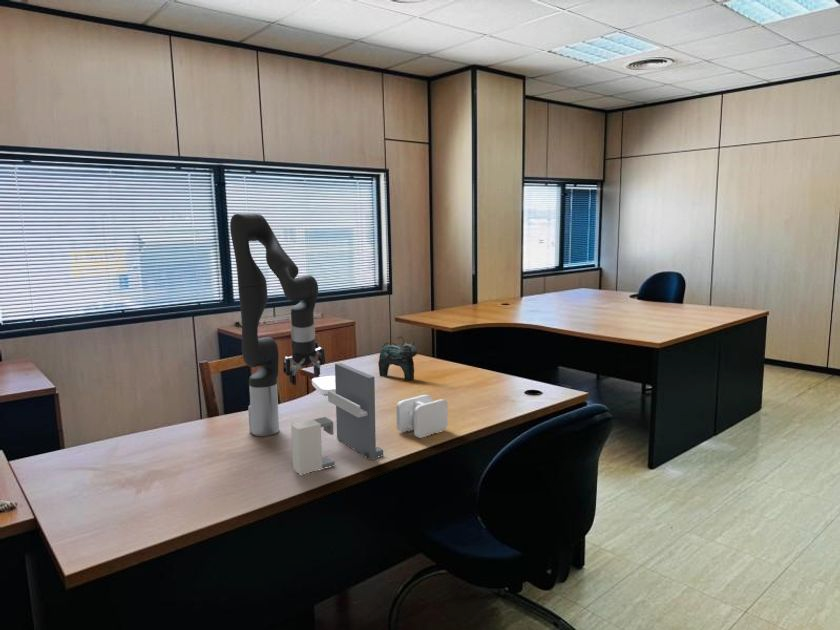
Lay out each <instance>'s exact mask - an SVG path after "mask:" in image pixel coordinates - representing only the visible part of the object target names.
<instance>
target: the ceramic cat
mask: <svg viewBox="0 0 840 630" xmlns="http://www.w3.org/2000/svg"><path fill="white" fill-rule="evenodd" d="M399 338H401V339H402V341H403V342H402V345H400V344H397V343H394V342H385V343H384V344H383V346H382V349H381V351H380V353H379V356H378V357H379V359H378V372H379V376H380V377H383V378H385V377H388V376H389V375H388V374H389V368H390V366H392V365H394V366H397V367H399V368H401V369H402V372H403V375H404V377H403V380H404V381H410V382H411V381H413V380H414V379H415V364H414V357H416V356H417V354H418V348H417V346H416V343H415V342H414V341H412V342H411V343H407V342H406V341H405V340H404V337H403V336H398V337H397V338H396V339H397V340H399ZM387 344H393V345H387Z"/></svg>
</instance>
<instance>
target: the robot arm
mask: <svg viewBox="0 0 840 630" xmlns="http://www.w3.org/2000/svg"><path fill="white" fill-rule="evenodd" d="M229 223H230V224H229V228H230V236H231V242H232V247H233V253H234V259H235V265H236V273H237V275H236V276H237V287H238V298H239V299H238V300H239V306H240V307H239V308H240V316H241V353H242V354H241V355H242V358H243V359H242V360H243V361H244V363H245V364H246V366H247V367H250V368H255V367H259V368H258V369H257V370H256V371H255V372H254V373H253V374H251V375H250V376H249V378H248V386H249V400H250V401H249V405H248V407H247V408H248V409H247V410H248V411H247V412H248V428H249V429H248V431H249V433H250V434H252V435H253V436H257V437H269V436H272V435H275V434H277V433H279V431H280V424H279V422H280V420H279V418H280V417H279V401H278V400H279V399H278V395H279V393H278V377H279V354H280V353H279V346H278V343H277V342H276V340H275V339H274V338H273V337H271V336H265V337H260V338H259V335H258V334H259V333H258V330H259V329H258V328H259V323H260V320H261V318H262V315H263V313H264V311H265V310H266V307H267V303H268V296H269V295H268V285H267V279H266V276H265V275H264V273H263V272H262V269H261V268H260V267H259V265H257V263H256V261H255V260H254V257H253V256H252V253H251V249H250V242H259V243H260V244H261V245H263V247H264V248H265V261H266V264H267V265H268V267H269V269H270V271H271V272H273V274H274V275H275V277H277V279H278V282H279V283H280V285H281V289H282V292H283V293H284V296H285V298H286V299H288V300H289V301H290V302H299V303H297V304H295V305H294V306H292V307H291V309H290V321H291V322H290V323H291V327H290V328H291V329H290V335H291V336H290V337H291V338H290V339H291V351H292V353H291V355H289V356H286V355H285V356H283V358H282V360H283V361H282V363H283V364H282V365H283V366H282V367H283V368H282V371H283V374H285V375H286V376H287V377H289V383H290V384H292V385H293V386H296V385H297V377H296V376H297V375H296V374H297V372H298V371H299V370H301V367H305V366H307V365H311V363H312V364H313V375H314V378H318V377H320V375H321V366H322V365H325V364H326V356H325V349H324V348H323V347H321V346H317V347H316V329H315V320H314V319H315V317H314V316H315V315H314V311H315V307H316V304H317V303H316V302H317V298H318V295H319V284H318V281H317V280H316V278H315V277H314V276H312V275H310V274H309V275H303V276H299V277H298V275H299V268H298V266H297V265H296V263H295V261H293V260H292V259H291V257H290V256H289V255H288V254H287V252H286V251H285V250H284V249H283V247H282V245H281V244H280V242H279V240H278V239H277V236H276V235H275V233H274V231H273V229H272V227H271V226H270V225H269V223H268V221H267V220H266V218H265V216H263V215H262V214H260V213H253V212H251V213H250V212H249V213H246V212H238V213H233V215H232V216H231V219H230V222H229ZM316 355H317V357H318V358H317V360H316V358H315V357H316Z"/></svg>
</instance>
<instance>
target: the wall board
mask: <svg viewBox="0 0 840 630" xmlns="http://www.w3.org/2000/svg"><path fill="white" fill-rule="evenodd" d="M334 375H335V385H336V393H334V392H332V391H328V395H327V399H328V400H327V402H328V403H330V404H333V405H334V406H335V409H336V410H335V413H336V414H335V415H336V418H335V419H336V439H337V438H338V439H339V440H338V439H337V440H338V441H340V440H341V441H342V442H341V441H340V442H341V443H343V442H344V443H346V444H347V445H349V446H350V447H349V446H348V447H349V448H351V447H352V448H354V449H355V450H357V451H358V452H360V453H361V454H363V455H364V456H363V455H362V456H363V457H365V456H366V457H367V458H366V457H365V458H366V459H368V458H369V459H373V458H376V457H377V458H379V457H378V456H381V455H383V456H384V449H383V448H381V447H379V446H377V447H376V445H377V443H376V442H377V441H376V435H377V434H376V392H375V391H376V385H375V382H376V379H375V376H373V375H371V374H370V373H367V372H364V371H361V370H358V369H357V368H355V367H352V366H350V365H346V364H344V363H341V362H338V363H334ZM344 443H343V444H344ZM346 444H345V445H346ZM347 445H346V446H347ZM352 448H351V449H352ZM354 449H353V450H354ZM355 450H354V451H355ZM357 451H356V452H357ZM358 452H357V453H358ZM360 453H359V454H360ZM361 454H360V455H361ZM381 457H382V456H381ZM377 458H376V459H377ZM369 459H368V460H369ZM373 460H374V459H373Z"/></svg>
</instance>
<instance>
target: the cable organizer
mask: <svg viewBox="0 0 840 630" xmlns="http://www.w3.org/2000/svg"><path fill="white" fill-rule="evenodd" d="M448 405H449V404H448V401H447V400H445V399H443V398H440V399H437V400H433V399H432V396H431V395H428V394H422V395H417V396H413V397H411V398H410V397H409V398H405V399H402V400H400V401H398V402H397V404H396V429H397V431H399V432H401V433H407V432H406V431H408V432H412V431H413V434H414V436H415V437H416V438H419V439H423V438H422V437H425V436H428V435H429V436H431V434H432V435H435V434H434V433H437V432H440V431H442V432H444V431H445V430H446V429H447V427H448V415H449V414H448V407H449V406H448ZM409 430H411V431H409ZM443 430H444V431H443ZM429 436H428V437H429ZM425 438H426V437H425Z"/></svg>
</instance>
